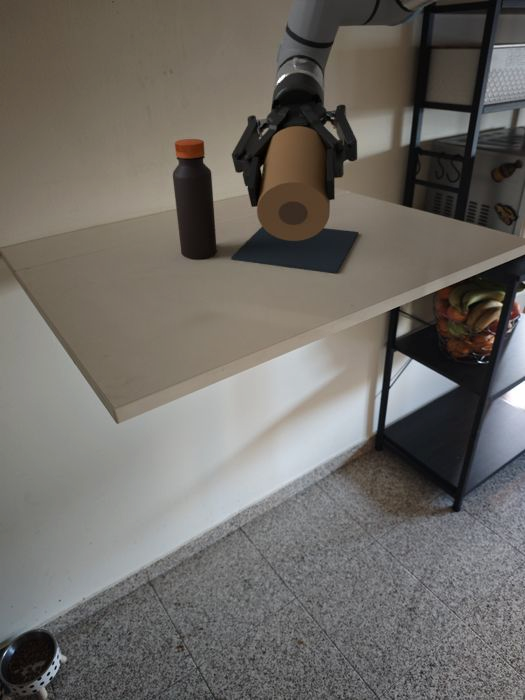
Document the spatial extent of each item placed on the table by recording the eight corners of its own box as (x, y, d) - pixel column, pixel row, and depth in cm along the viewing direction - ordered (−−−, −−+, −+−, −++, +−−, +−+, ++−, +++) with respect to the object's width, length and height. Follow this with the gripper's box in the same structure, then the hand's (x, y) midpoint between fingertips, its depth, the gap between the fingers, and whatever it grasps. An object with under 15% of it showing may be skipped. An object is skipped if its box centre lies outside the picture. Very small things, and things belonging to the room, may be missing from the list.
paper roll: (268, 185, 73) (261, 127, 66) (330, 183, 72) (330, 124, 64) (260, 241, 66) (252, 183, 59) (329, 240, 65) (329, 181, 57)
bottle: (191, 263, 91) (179, 147, 80) (175, 251, 96) (162, 140, 85) (223, 254, 94) (216, 142, 83) (206, 243, 99) (198, 136, 88)
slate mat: (358, 234, 102) (358, 231, 102) (336, 273, 87) (337, 271, 86) (266, 224, 108) (266, 221, 108) (231, 259, 92) (230, 257, 92)
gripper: (221, 81, 72) (197, 176, 59) (373, 60, 68) (383, 156, 55) (232, 130, 78) (212, 225, 65) (373, 113, 74) (382, 211, 61)
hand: (291, 194), depth 60 cm, fingers closed on paper roll, 9 cm apart
